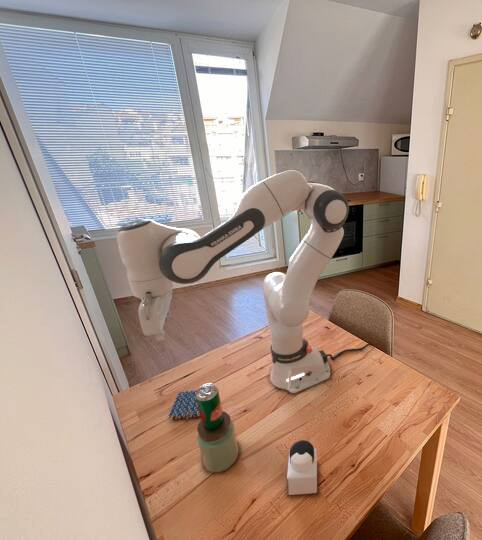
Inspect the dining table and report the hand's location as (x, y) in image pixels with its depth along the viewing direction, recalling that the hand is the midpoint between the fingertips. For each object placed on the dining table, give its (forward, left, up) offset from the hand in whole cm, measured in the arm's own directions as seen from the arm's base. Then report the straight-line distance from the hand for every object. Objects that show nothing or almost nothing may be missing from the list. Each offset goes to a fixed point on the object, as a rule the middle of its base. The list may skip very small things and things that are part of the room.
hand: (164, 328), depth 80 cm
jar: (-10, +18, -33) cm, 39 cm away
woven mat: (-1, -3, -33) cm, 33 cm away
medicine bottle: (-30, +32, -33) cm, 55 cm away
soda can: (-10, +18, -20) cm, 29 cm away
